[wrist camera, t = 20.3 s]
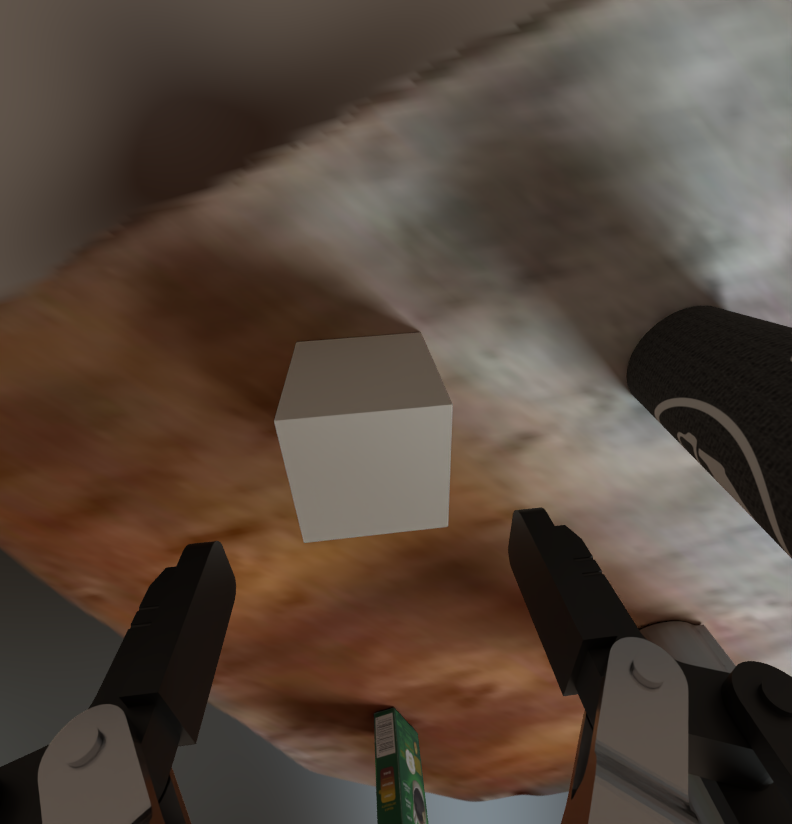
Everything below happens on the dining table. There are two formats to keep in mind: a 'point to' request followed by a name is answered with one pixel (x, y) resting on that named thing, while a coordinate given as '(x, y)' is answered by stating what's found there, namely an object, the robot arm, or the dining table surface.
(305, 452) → the block
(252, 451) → the dining table surface
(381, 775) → the coffee box
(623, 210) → the dining table surface
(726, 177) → the dining table surface
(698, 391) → the coffee cup
